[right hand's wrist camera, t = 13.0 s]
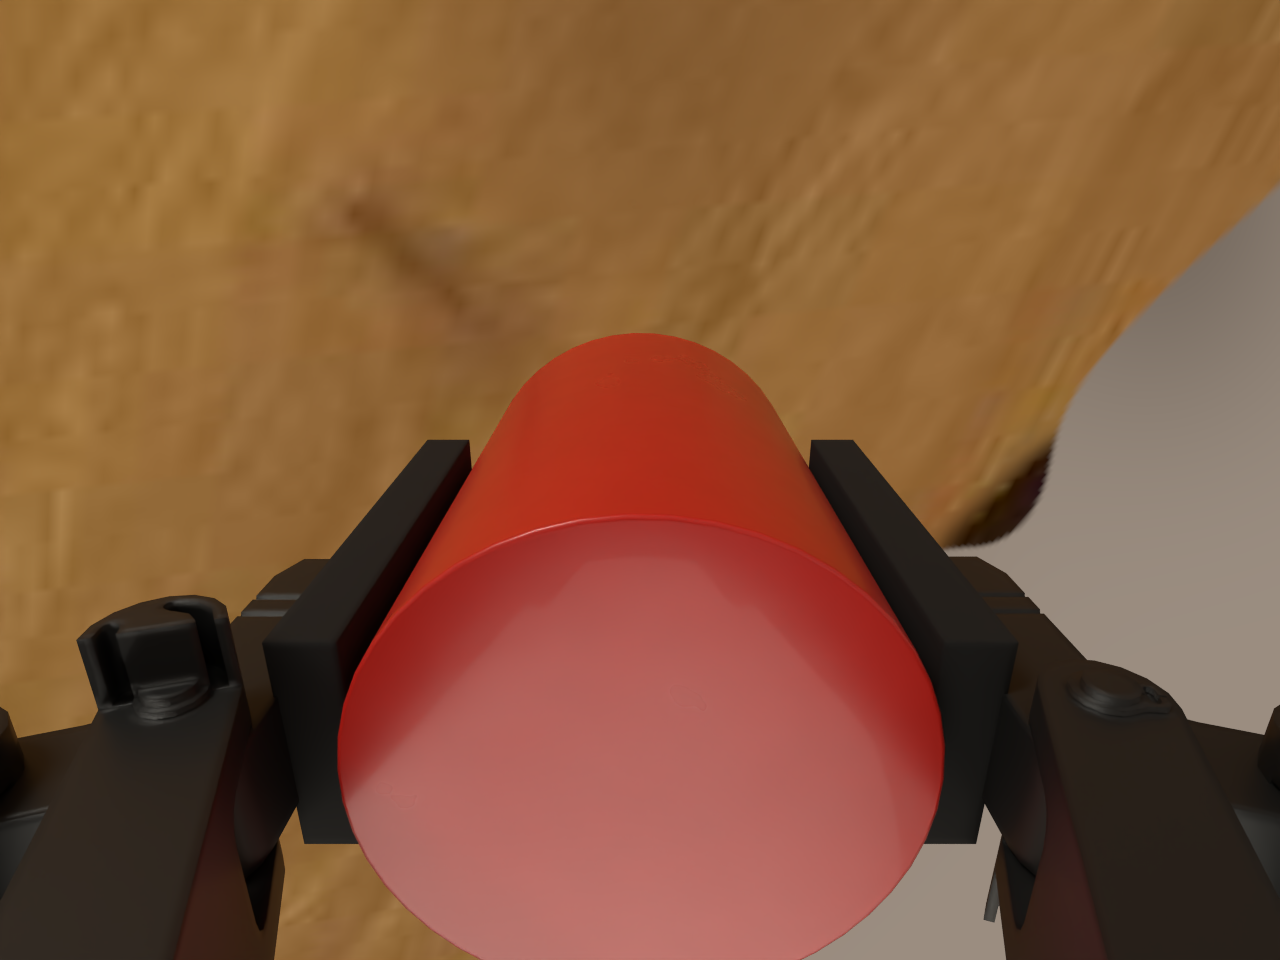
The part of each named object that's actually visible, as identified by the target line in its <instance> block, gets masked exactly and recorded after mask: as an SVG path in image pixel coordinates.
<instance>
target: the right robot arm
mask: <svg viewBox="0 0 1280 960" xmlns="http://www.w3.org/2000/svg"><path fill="white" fill-rule="evenodd" d="M809 469H810V471H811V472H812V474H813V476H814V478H815V479H816V481H817V483H818V484H819V486H820V488H821V489H822V491H823V493H824V495H825V496H826V498H827V500H828V501H829V503H830V505H831V506H832V508H833V510H834V512H835V513H836V515H837V517H838V518H839V520H840V522H841V523H842V525H843V527H844V529H845V530H846V532H847V534H848V535H849V537H850V539H851V540H852V542H853V544H854V546H855V547H856V549H857V551H858V552H859V554H860V556H861V557H862V559H863V561H864V563H865V564H866V566H867V568H868V569H869V571H870V573H871V574H872V576H873V578H874V580H875V581H876V583H877V585H878V586H879V588H880V590H881V591H882V593H883V595H884V597H885V598H886V600H887V602H888V603H889V605H890V607H891V609H892V610H893V612H894V614H895V615H896V617H897V619H898V620H899V622H900V624H901V626H902V627H903V629H904V631H905V632H906V634H907V636H908V637H909V639H910V641H911V643H912V644H913V646H914V648H915V649H916V651H917V653H918V655H919V657H920V659H921V661H922V663H923V665H924V667H925V669H926V671H927V673H928V675H929V677H930V679H931V682H932V685H933V688H934V692H935V695H936V698H937V702H938V705H939V708H940V711H941V717H942V725H943V733H944V741H945V759H944V780H943V785H942V790H941V794H940V799H939V804H938V809H937V812H936V815H935V817H934V820H933V823H932V825H931V828H930V830H929V833H928V836H927V838H926V840H925V842H924V844H976V842H977V837H978V832H979V827H980V823H981V818H982V813H983V809H984V804H985V805H986V807H987V808H988V810H989V812H990V814H991V816H992V818H993V819H994V821H995V823H996V825H997V827H998V828H999V830H1000V832H1001V834H1002V836H1001V841H1000V845H999V850H998V854H997V859H996V863H995V867H994V872H993V876H992V880H991V885H990V889H989V894H988V898H987V902H986V908H985V914H984V920H987V921H991V922H995V917H996V913H997V909H998V906H999V905H1000V913H1001V921H1002V929H1003V937H1004V945H1005V953H1006V960H1280V705H1279V706H1277V707H1276V708H1274V711H1273V713H1272V716H1271V719H1270V721H1269V724H1268V727H1267V730H1266V732H1265V735H1262V734H1256V733H1251V732H1246V731H1241V730H1236V729H1230V728H1225V727H1220V726H1215V725H1209V724H1205V723H1199V722H1195V721H1191V720H1187V718H1186V716H1185V714H1184V712H1183V710H1182V709H1181V707H1180V706H1179V705H1178V704H1177V703H1176V702H1175V700H1174V699H1173V698H1172V697H1171V696H1170V694H1169V693H1167V692H1166V691H1165V690H1163V689H1162V688H1160V687H1159V686H1157V685H1156V684H1154V683H1153V682H1151V681H1150V680H1148V679H1147V678H1144V677H1142V676H1140V675H1137V674H1135V673H1133V672H1131V671H1128V670H1126V669H1124V668H1121V667H1118V666H1114V665H1110V664H1106V663H1102V662H1098V661H1092V660H1087V659H1086V658H1085V657H1084V656H1083V655H1082V654H1081V653H1080V652H1079V651H1078V650H1077V649H1076V648H1075V647H1074V646H1073V644H1072V643H1071V642H1070V641H1069V640H1068V639H1067V638H1066V637H1065V636H1064V635H1063V634H1062V633H1061V632H1060V631H1059V629H1058V628H1057V627H1056V626H1055V625H1054V624H1053V623H1052V622H1051V621H1050V620H1049V619H1048V618H1047V617H1046V615H1045V614H1040V609H1039V608H1038V607H1037V606H1036V605H1035V604H1034V603H1033V602H1032V600H1031V599H1030V598H1029V597H1025V593H1024V592H1023V591H1022V590H1021V589H1020V588H1019V587H1018V585H1017V584H1016V583H1015V582H1014V581H1013V580H1012V579H1011V578H1010V577H1009V576H1008V575H1007V574H1006V573H1005V572H1003V571H1001V570H999V569H997V568H996V567H994V566H992V565H990V564H989V563H987V562H985V561H983V560H982V559H980V558H978V557H948V556H947V554H946V553H945V552H944V551H943V549H942V548H941V547H940V546H939V544H938V543H937V542H936V541H935V540H934V538H933V537H932V536H931V535H930V533H929V532H928V531H927V530H926V529H925V527H924V526H923V525H922V524H921V522H920V521H919V520H918V519H917V518H916V516H915V515H914V514H913V513H912V512H911V510H910V509H909V508H908V507H907V505H906V504H905V503H904V502H903V501H902V499H901V498H900V497H899V496H898V494H897V493H896V492H895V491H894V490H893V488H892V487H891V486H890V485H889V483H888V482H887V481H886V480H885V479H884V477H883V476H882V475H881V474H880V472H879V471H878V470H877V469H876V468H875V466H874V465H873V464H872V463H871V461H870V460H869V459H868V458H867V457H866V455H865V454H864V453H863V452H862V450H861V449H860V448H859V447H858V446H857V444H856V443H855V442H854V441H853V440H811V450H810V461H809ZM471 470H472V467H471V455H470V444H469V440H427V441H426V443H425V444H424V445H423V446H422V447H421V449H420V450H419V451H418V452H417V454H416V455H415V456H414V457H413V458H412V460H411V461H410V462H409V463H408V465H407V466H406V467H405V468H404V469H403V471H402V472H401V473H400V474H399V476H398V477H397V478H396V479H395V480H394V482H393V483H392V484H391V485H390V487H389V488H388V489H387V490H386V491H385V493H384V494H383V495H382V496H381V498H380V499H379V500H378V501H377V502H376V504H375V505H374V506H373V507H372V509H371V510H370V511H369V512H368V513H367V515H366V516H365V517H364V518H363V519H362V521H361V522H360V523H359V524H358V526H357V527H356V528H355V529H354V530H353V532H352V533H351V534H350V535H349V537H348V538H347V539H346V540H345V541H344V543H343V544H342V545H341V546H340V548H339V549H338V550H337V551H336V552H335V554H334V555H333V556H332V557H331V559H304V560H302V561H300V562H298V563H297V564H295V565H293V566H291V567H290V568H288V569H286V570H284V571H283V572H281V573H279V574H277V575H276V576H274V577H273V578H272V580H271V581H270V582H269V583H268V584H267V585H266V586H265V587H264V588H263V589H262V590H261V591H260V592H259V594H258V595H257V598H256V600H252V601H251V602H250V603H249V604H248V605H247V607H246V608H245V609H244V610H243V611H242V612H241V616H237V617H236V618H235V620H234V621H233V622H232V623H231V624H230V622H229V617H228V613H227V608H226V606H225V605H224V604H222V603H221V602H219V601H218V600H216V599H215V598H210V597H204V596H198V595H186V596H169V597H164V598H160V599H155V600H150V601H146V602H141V603H138V604H136V605H133V606H130V607H128V608H125V609H122V610H120V611H117V612H114V613H112V614H110V615H109V616H107V617H105V618H104V619H102V620H100V621H98V622H97V623H95V624H93V625H91V626H90V627H89V628H88V629H87V630H86V631H85V632H84V633H83V634H82V635H81V636H80V637H79V638H78V639H77V640H76V641H77V644H78V647H79V650H80V653H81V656H82V659H83V663H84V666H85V669H86V672H87V675H88V678H89V682H90V685H91V688H92V691H93V694H94V697H95V701H96V704H97V707H98V712H97V714H96V716H95V718H94V720H93V722H92V723H91V724H87V725H83V726H78V727H73V728H68V729H63V730H58V731H52V732H47V733H42V734H37V735H32V736H27V737H21V738H17V736H16V733H15V730H14V727H13V725H12V722H11V719H10V717H9V714H8V712H7V711H6V710H4V709H2V708H1V707H0V960H274V955H275V947H276V939H277V931H278V923H279V915H280V907H281V899H282V891H283V883H284V875H285V867H284V860H283V854H282V850H281V845H280V841H279V837H280V835H281V833H282V832H283V830H284V828H285V826H286V824H287V822H288V821H289V819H290V817H291V815H292V813H293V812H294V810H295V808H296V806H297V811H298V815H299V820H300V825H301V830H302V834H303V839H304V844H359V843H358V841H357V839H356V837H355V835H354V833H353V832H352V829H351V826H350V823H349V819H348V816H347V813H346V810H345V807H344V804H343V801H342V795H341V788H340V782H339V776H338V768H337V766H338V732H339V726H340V720H341V715H342V709H343V704H344V701H345V698H346V695H347V692H348V690H349V687H350V684H351V681H352V678H353V676H354V673H355V671H356V669H357V667H358V665H359V664H360V662H361V660H362V658H363V656H364V655H365V653H366V651H367V649H368V647H369V646H370V644H371V642H372V640H373V638H374V637H375V635H376V633H377V632H378V630H379V628H380V626H381V625H382V623H383V621H384V620H385V618H386V616H387V614H388V613H389V611H390V609H391V608H392V606H393V604H394V602H395V601H396V599H397V597H398V596H399V594H400V592H401V590H402V589H403V587H404V585H405V584H406V582H407V580H408V578H409V577H410V575H411V573H412V572H413V570H414V568H415V566H416V565H417V563H418V561H419V560H420V558H421V556H422V554H423V553H424V551H425V549H426V548H427V546H428V544H429V542H430V541H431V539H432V537H433V535H434V534H435V532H436V530H437V529H438V527H439V525H440V523H441V522H442V520H443V518H444V517H445V515H446V513H447V511H448V510H449V508H450V506H451V505H452V503H453V501H454V499H455V498H456V496H457V494H458V493H459V491H460V489H461V487H462V486H463V484H464V482H465V481H466V479H467V477H468V475H469V474H470V472H471Z"/></svg>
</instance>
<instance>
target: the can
mask: <svg viewBox="0 0 1280 960" xmlns="http://www.w3.org/2000/svg"><path fill="white" fill-rule="evenodd" d="M944 759H945V741H944V733H943V725H942V717H941V711H940V708H939V705H938V702H937V698H936V695H935V692H934V688H933V685H932V682H931V679H930V677H929V675H928V673H927V671H926V669H925V667H924V665H923V663H922V661H921V659H920V657H919V655H918V653H917V651H916V649H915V648H914V646H913V644H912V643H911V641H910V639H909V637H908V636H907V634H906V632H905V631H904V629H903V627H902V626H901V624H900V622H899V620H898V619H897V617H896V615H895V614H894V612H893V610H892V609H891V607H890V605H889V603H888V602H887V600H886V598H885V597H884V595H883V593H882V591H881V590H880V588H879V586H878V585H877V583H876V581H875V580H874V578H873V576H872V574H871V573H870V571H869V569H868V568H867V566H866V564H865V563H864V561H863V559H862V557H861V556H860V554H859V552H858V551H857V549H856V547H855V546H854V544H853V542H852V540H851V539H850V537H849V535H848V534H847V532H846V530H845V529H844V527H843V525H842V523H841V522H840V520H839V518H838V517H837V515H836V513H835V512H834V510H833V508H832V506H831V505H830V503H829V501H828V500H827V498H826V496H825V495H824V493H823V491H822V489H821V488H820V486H819V484H818V483H817V481H816V479H815V478H814V476H813V474H812V472H811V471H810V469H809V467H808V466H807V464H806V462H805V461H804V459H803V457H802V455H801V454H800V452H799V450H798V449H797V447H796V445H795V444H794V442H793V440H792V438H791V437H790V435H789V433H788V432H787V430H786V428H785V427H784V425H783V423H782V421H781V420H780V418H779V416H778V415H777V413H776V411H775V410H774V408H773V406H772V404H771V403H770V402H769V400H768V399H767V397H766V396H765V394H764V393H763V392H762V390H761V389H760V388H759V387H758V386H757V384H756V383H755V382H754V381H753V380H752V379H751V378H750V377H749V376H748V375H747V374H746V373H745V372H744V371H742V370H741V369H740V368H739V367H738V366H736V365H735V364H734V363H733V362H731V361H730V360H728V359H727V358H725V357H723V356H722V355H720V354H718V353H717V352H715V351H713V350H711V349H709V348H706V347H704V346H702V345H700V344H697V343H695V342H692V341H688V340H685V339H681V338H678V337H674V336H667V335H660V334H651V333H630V334H621V335H612V336H608V337H604V338H600V339H596V340H592V341H589V342H587V343H584V344H582V345H579V346H577V347H574V348H572V349H570V350H568V351H567V352H565V353H563V354H561V355H559V356H558V357H556V358H554V359H553V360H552V361H550V362H549V363H548V364H546V365H545V366H544V367H542V368H541V369H540V370H538V371H537V372H536V373H535V374H534V375H533V376H532V377H531V378H530V379H529V380H528V381H527V382H526V383H525V384H524V385H523V387H522V388H521V389H520V391H519V392H518V393H517V395H516V396H515V397H514V399H513V400H512V402H511V403H510V405H509V407H508V408H507V410H506V412H505V414H504V415H503V417H502V419H501V420H500V422H499V424H498V426H497V427H496V429H495V431H494V433H493V434H492V436H491V438H490V439H489V441H488V443H487V445H486V446H485V448H484V450H483V451H482V453H481V455H480V457H479V458H478V460H477V462H476V463H475V465H474V467H473V469H472V470H471V472H470V474H469V475H468V477H467V479H466V481H465V482H464V484H463V486H462V487H461V489H460V491H459V493H458V494H457V496H456V498H455V499H454V501H453V503H452V505H451V506H450V508H449V510H448V511H447V513H446V515H445V517H444V518H443V520H442V522H441V523H440V525H439V527H438V529H437V530H436V532H435V534H434V535H433V537H432V539H431V541H430V542H429V544H428V546H427V548H426V549H425V551H424V553H423V554H422V556H421V558H420V560H419V561H418V563H417V565H416V566H415V568H414V570H413V572H412V573H411V575H410V577H409V578H408V580H407V582H406V584H405V585H404V587H403V589H402V590H401V592H400V594H399V596H398V597H397V599H396V601H395V602H394V604H393V606H392V608H391V609H390V611H389V613H388V614H387V616H386V618H385V620H384V621H383V623H382V625H381V626H380V628H379V630H378V632H377V633H376V635H375V637H374V638H373V640H372V642H371V644H370V646H369V647H368V649H367V651H366V653H365V655H364V656H363V658H362V660H361V662H360V664H359V665H358V667H357V669H356V671H355V673H354V676H353V678H352V681H351V684H350V687H349V690H348V692H347V695H346V698H345V701H344V704H343V709H342V715H341V720H340V726H339V732H338V766H337V768H338V776H339V782H340V788H341V795H342V801H343V804H344V807H345V810H346V813H347V816H348V819H349V823H350V826H351V829H352V832H353V833H354V835H355V837H356V839H357V841H358V843H359V845H360V847H361V849H362V851H363V853H364V855H365V857H366V859H367V861H368V862H369V863H370V865H371V866H372V868H373V869H374V871H375V872H376V873H377V875H378V876H379V878H380V879H381V881H382V882H383V883H384V885H385V886H386V887H387V888H388V889H389V890H390V891H391V893H392V894H393V895H394V896H395V897H396V898H397V899H398V900H399V901H400V902H401V903H402V905H403V906H404V907H405V908H406V909H407V910H409V911H410V912H411V913H412V914H413V915H414V916H416V917H417V918H418V919H419V920H420V921H421V922H423V923H424V924H425V925H426V926H427V927H428V928H430V929H431V930H432V931H434V932H435V933H437V934H438V935H440V936H441V937H443V938H444V939H446V940H447V941H449V942H450V943H452V944H453V945H455V946H456V947H458V948H459V949H461V950H463V951H465V952H467V953H469V954H471V955H473V956H475V957H476V958H478V959H480V960H801V959H804V958H806V957H808V956H810V955H812V954H814V953H816V952H817V951H819V950H821V949H822V948H824V947H825V946H827V945H829V944H830V943H832V942H833V941H835V940H836V939H838V938H840V937H841V936H843V935H844V934H846V933H847V932H848V931H849V930H851V929H852V928H853V927H854V926H856V925H857V924H858V923H859V922H861V921H862V920H863V919H864V918H866V917H867V916H868V915H869V914H870V913H871V912H872V911H873V910H874V909H875V908H876V907H877V906H878V905H879V904H880V903H881V902H882V901H883V900H884V899H885V898H886V897H887V896H888V895H889V894H890V893H891V892H892V891H893V889H894V888H895V887H896V886H897V884H898V883H899V882H900V880H901V879H902V878H903V876H904V875H905V874H906V872H907V871H908V870H909V868H910V867H911V865H912V864H913V862H914V860H915V858H916V857H917V855H918V853H919V851H920V849H921V848H922V846H923V844H924V842H925V840H926V838H927V836H928V833H929V830H930V828H931V825H932V823H933V820H934V817H935V815H936V812H937V809H938V804H939V799H940V794H941V790H942V785H943V780H944Z"/></svg>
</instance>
